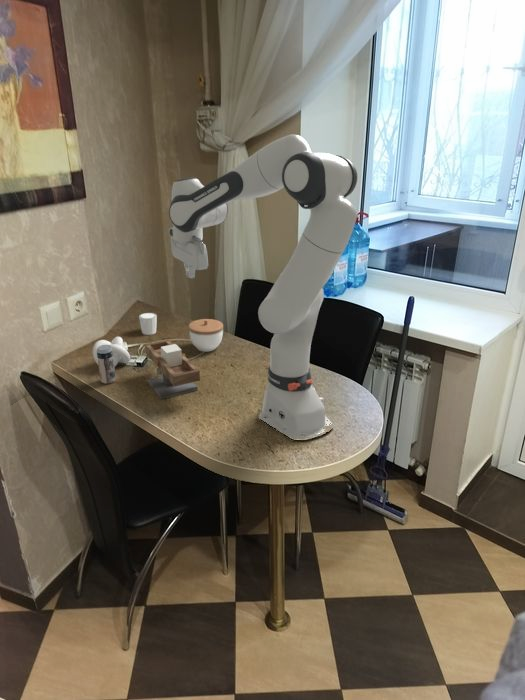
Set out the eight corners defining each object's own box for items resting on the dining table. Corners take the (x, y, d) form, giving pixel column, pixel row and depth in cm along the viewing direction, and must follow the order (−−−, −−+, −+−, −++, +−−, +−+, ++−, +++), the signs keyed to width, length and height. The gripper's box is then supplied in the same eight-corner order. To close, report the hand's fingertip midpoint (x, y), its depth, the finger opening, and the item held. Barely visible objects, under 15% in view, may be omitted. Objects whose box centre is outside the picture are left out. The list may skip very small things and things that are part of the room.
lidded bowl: (182, 346, 187) (181, 319, 182) (210, 338, 195) (209, 311, 190) (202, 357, 179) (201, 329, 174) (230, 348, 186) (230, 321, 182)
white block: (182, 364, 154) (181, 349, 152) (167, 367, 152) (166, 353, 150) (176, 358, 158) (175, 343, 156) (161, 361, 156) (160, 346, 154)
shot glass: (152, 327, 203) (151, 311, 200) (161, 332, 198) (159, 316, 195) (137, 331, 199) (135, 314, 196) (145, 336, 194) (144, 320, 191)
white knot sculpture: (103, 376, 164) (100, 351, 160) (88, 363, 172) (84, 339, 169) (134, 366, 171) (132, 342, 167) (118, 354, 179) (115, 331, 175)
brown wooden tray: (206, 399, 152) (205, 369, 148) (169, 409, 147) (167, 378, 142) (175, 366, 172) (174, 338, 167) (141, 374, 166) (139, 345, 162)
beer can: (111, 385, 159) (107, 351, 154) (97, 383, 160) (93, 349, 155) (118, 378, 163) (114, 345, 158) (104, 376, 164) (100, 343, 159)
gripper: (212, 238, 146) (213, 284, 152) (184, 226, 162) (187, 268, 168) (192, 240, 143) (195, 287, 149) (166, 228, 159) (169, 270, 165)
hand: (190, 277), depth 159 cm, fingers closed
